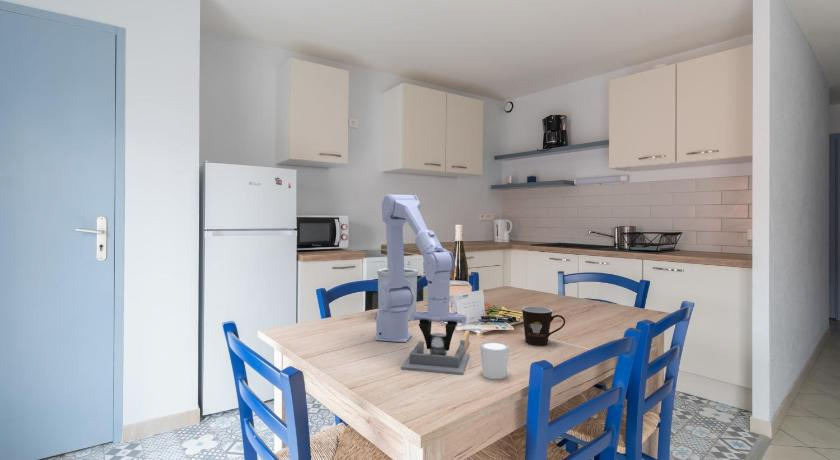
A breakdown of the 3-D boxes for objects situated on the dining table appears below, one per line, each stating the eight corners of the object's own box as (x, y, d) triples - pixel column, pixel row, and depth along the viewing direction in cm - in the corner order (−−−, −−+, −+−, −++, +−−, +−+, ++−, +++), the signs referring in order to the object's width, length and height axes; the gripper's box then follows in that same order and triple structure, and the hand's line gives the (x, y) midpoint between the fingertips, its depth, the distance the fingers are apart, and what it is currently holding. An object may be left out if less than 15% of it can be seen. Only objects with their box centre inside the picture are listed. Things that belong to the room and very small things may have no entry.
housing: (400, 369, 108) (400, 357, 108) (414, 351, 121) (414, 340, 121) (462, 374, 104) (463, 362, 104) (469, 356, 118) (469, 345, 118)
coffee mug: (516, 342, 130) (516, 309, 129) (530, 336, 136) (531, 305, 136) (552, 351, 122) (553, 316, 121) (566, 344, 128) (567, 311, 128)
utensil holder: (394, 310, 171) (394, 266, 170) (425, 316, 162) (425, 269, 162) (368, 318, 159) (368, 270, 158) (401, 324, 150) (401, 273, 150)
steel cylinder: (428, 356, 113) (428, 337, 113) (431, 351, 117) (431, 332, 117) (445, 357, 112) (445, 338, 112) (447, 352, 116) (448, 333, 116)
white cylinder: (491, 382, 100) (491, 352, 99) (474, 372, 106) (474, 343, 106) (515, 377, 103) (515, 347, 103) (497, 367, 109) (497, 340, 109)
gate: (464, 354, 118) (464, 341, 118) (459, 354, 119) (460, 340, 119) (469, 341, 130) (469, 329, 130) (465, 341, 131) (465, 329, 130)
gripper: (407, 299, 112) (407, 351, 112) (464, 302, 108) (463, 356, 109) (414, 294, 118) (414, 343, 119) (467, 296, 115) (467, 347, 116)
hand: (438, 348), depth 114 cm, fingers closed on steel cylinder, 4 cm apart
